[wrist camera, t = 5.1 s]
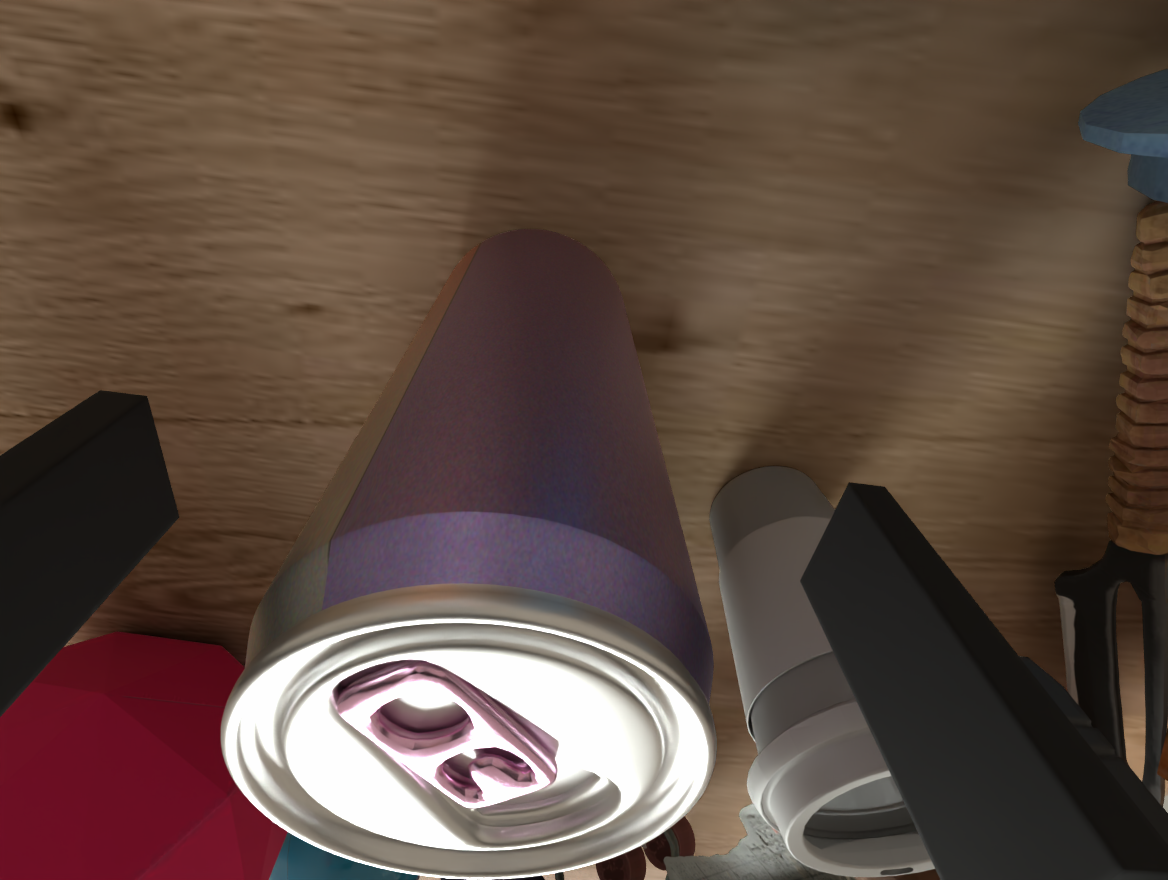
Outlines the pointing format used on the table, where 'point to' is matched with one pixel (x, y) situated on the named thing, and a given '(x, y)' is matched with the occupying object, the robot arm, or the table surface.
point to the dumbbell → (1134, 130)
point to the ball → (325, 865)
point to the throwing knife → (1130, 520)
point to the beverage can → (488, 600)
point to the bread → (1164, 760)
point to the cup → (802, 688)
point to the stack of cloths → (748, 858)
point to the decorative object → (127, 769)
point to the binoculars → (648, 854)
